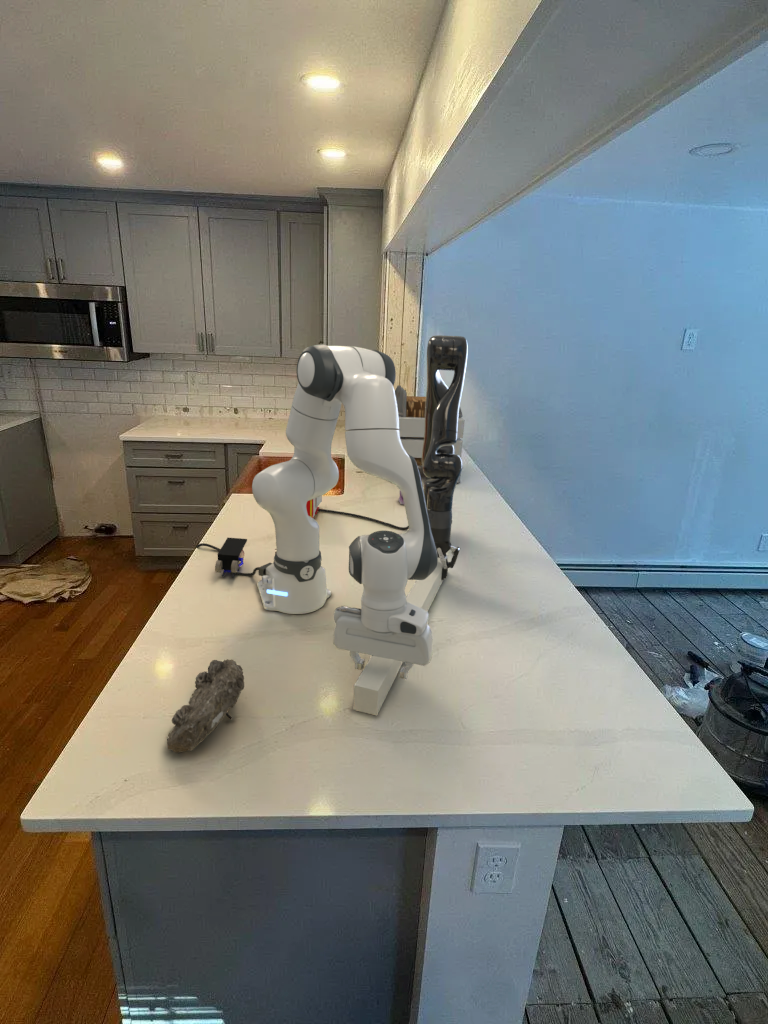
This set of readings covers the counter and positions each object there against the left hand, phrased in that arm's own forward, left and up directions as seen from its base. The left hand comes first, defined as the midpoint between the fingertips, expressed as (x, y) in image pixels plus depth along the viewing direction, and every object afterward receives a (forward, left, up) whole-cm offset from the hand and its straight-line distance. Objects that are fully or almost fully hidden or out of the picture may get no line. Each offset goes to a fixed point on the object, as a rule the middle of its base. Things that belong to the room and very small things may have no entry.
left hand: (381, 672), depth 116 cm
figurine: (-100, +71, -4) cm, 123 cm away
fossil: (-8, -33, -4) cm, 34 cm away
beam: (-18, +19, -4) cm, 27 cm away
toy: (-100, +25, -4) cm, 104 cm away
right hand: (-36, +39, -3) cm, 53 cm away
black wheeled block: (-69, -11, -4) cm, 70 cm away
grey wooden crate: (-135, +100, -4) cm, 168 cm away
